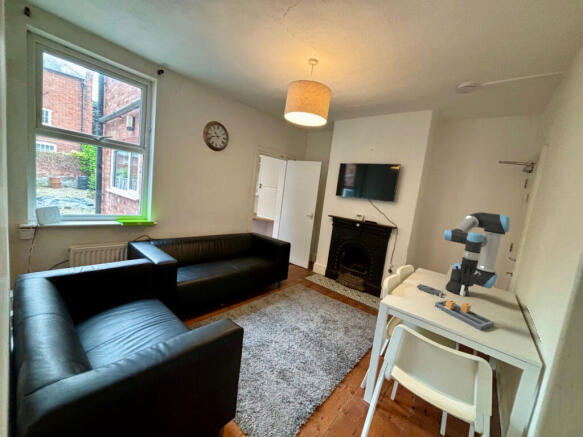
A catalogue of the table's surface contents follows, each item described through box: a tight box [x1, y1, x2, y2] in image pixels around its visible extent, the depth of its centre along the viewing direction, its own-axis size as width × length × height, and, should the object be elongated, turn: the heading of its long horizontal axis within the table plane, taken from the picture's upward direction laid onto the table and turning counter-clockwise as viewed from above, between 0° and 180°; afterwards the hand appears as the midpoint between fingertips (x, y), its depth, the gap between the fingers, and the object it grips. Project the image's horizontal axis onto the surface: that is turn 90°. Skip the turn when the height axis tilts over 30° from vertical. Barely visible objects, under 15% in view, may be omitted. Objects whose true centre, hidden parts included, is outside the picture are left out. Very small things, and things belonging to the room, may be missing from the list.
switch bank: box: [434, 299, 495, 331], centre depth 142 cm, size 14×26×3 cm, turn 25°
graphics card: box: [416, 283, 444, 298], centre depth 176 cm, size 17×4×12 cm
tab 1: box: [445, 299, 456, 310], centre depth 145 cm, size 4×3×5 cm
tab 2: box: [460, 302, 472, 313], centre depth 143 cm, size 4×3×5 cm
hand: (462, 295), depth 140 cm, fingers closed
